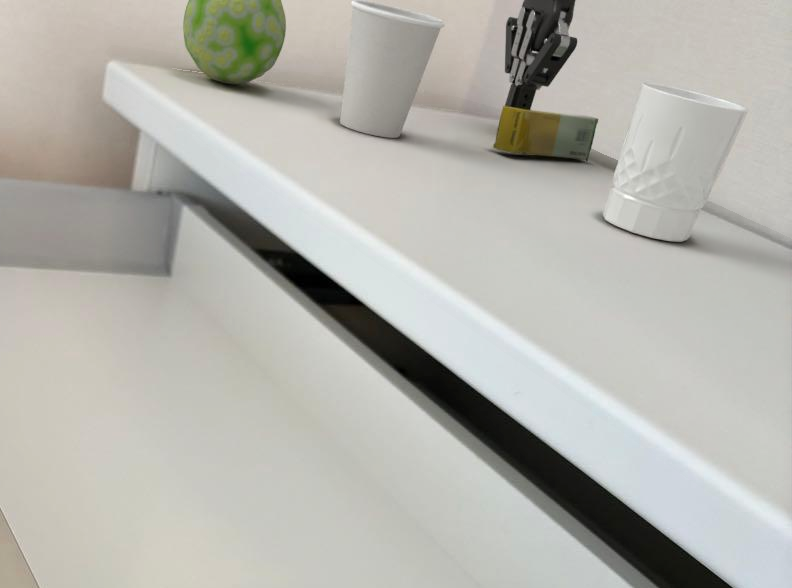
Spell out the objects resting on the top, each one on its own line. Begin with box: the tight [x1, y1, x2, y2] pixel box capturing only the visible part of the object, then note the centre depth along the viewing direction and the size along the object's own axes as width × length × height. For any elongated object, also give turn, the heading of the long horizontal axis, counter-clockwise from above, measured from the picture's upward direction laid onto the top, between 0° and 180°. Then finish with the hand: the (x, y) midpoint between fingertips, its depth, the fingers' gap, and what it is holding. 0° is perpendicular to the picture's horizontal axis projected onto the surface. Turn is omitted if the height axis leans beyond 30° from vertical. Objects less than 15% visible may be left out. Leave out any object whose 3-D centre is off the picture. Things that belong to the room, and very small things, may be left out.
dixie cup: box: [339, 0, 445, 139], centre depth 98 cm, size 8×8×10 cm
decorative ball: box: [182, 0, 287, 85], centre depth 104 cm, size 10×10×10 cm
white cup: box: [602, 82, 749, 243], centre depth 84 cm, size 8×8×10 cm
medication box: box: [493, 105, 599, 162], centre depth 105 cm, size 12×3×4 cm, turn 127°
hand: (512, 124), depth 113 cm, fingers closed
